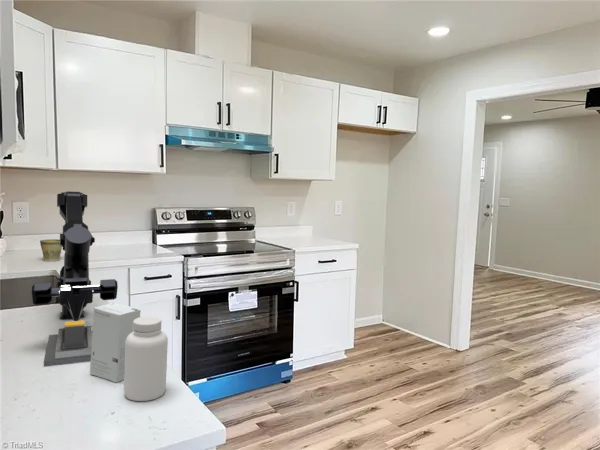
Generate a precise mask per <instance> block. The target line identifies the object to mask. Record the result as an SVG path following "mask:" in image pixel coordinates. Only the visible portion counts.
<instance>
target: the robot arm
mask: <svg viewBox="0 0 600 450" xmlns="http://www.w3.org/2000/svg"><path fill="white" fill-rule="evenodd" d="M56 207H57V208H59V215H60V217H61V218H62V219H63V220H64V225H62V233H59V239H60V247H62V251H64V258H63V259H64V261H63V266H62V267H61V269H60V271H59V277H57V278H56V287H54V288H53V287H52V282H49V281H48V282H36V283H34V284H33V285H32V286H31V298H32V304H33V305H35V306H40V305H41V306H42V305H49V304H50V303H51V302H52V301H53V298H54V297H56V298H57V304H59V305H61V311H60V315H59V320H68V319H73V320H72V321H80V318H81V319H82V318H85V310H84V309H85V308H86V307H87V305H88V304H91V303H92V302H94V301H93V298H94V295H95V294H99V298H100V299H101V300H103V301H110V300H111V301H112V300H115V299H116V300H117V297H118V280H116V279H115V278H113V279H111V278H110V279H100V282H99V284H96V285H95V284H93V285H92V281H91V280H90V273H89V272H90V271H89V270H90V269H89V268H90V264H89V262H90V260H89V258H90V257H89V253H90V249H91V247H92V246H93V243H95V241H96V238H95V237H94V236H93V235H92V232H91V231H90V230H89V225H87V224H86V223H84V222H83V221H84V220H83V216H84V214H85V210H86V208H88V194H85V193H84V192H81V191H71V190H70V191H64V192H63V191H62V192H61V193H56Z"/></svg>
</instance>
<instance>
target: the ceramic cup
mask: <svg viewBox="0 0 600 450" xmlns="http://www.w3.org/2000/svg"><path fill="white" fill-rule="evenodd" d="M39 242H40V247H41V251H42V252H41V253H42V258H43V260H44V262H47V263H48V262H58V261H59V262H60V259H61V255H62V254H61V253H62V250H63V247H60V238H59V239H58V238H57V239H55V238H52V239H51V238H48V239H40V240H39Z"/></svg>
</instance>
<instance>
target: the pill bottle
mask: <svg viewBox="0 0 600 450" xmlns="http://www.w3.org/2000/svg"><path fill="white" fill-rule="evenodd" d="M133 331H134V332H132V333H130V334H129V335H128V337H127V338H126V343H125V372H124V379H123V392H124V396H125V398H127V399H128V400H130V401H135V402H146V401H151V400H152V401H153V400H155V399H158V398H160V397H162V396H163V395H164V394H165V392H166V389H167V388H166V387H167V368H168V367H167V366H168V365H167V363H168V346H169V345H168V343H169V341H168V336H167V334H166V332H165V331H163V330H162V319H161V318H160V317H158V316H152V315H150V316H149V315H148V316H147V315H146V316H140V317H139V318H136V319H135V320H134V321H133Z"/></svg>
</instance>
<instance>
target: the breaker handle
mask: <svg viewBox="0 0 600 450" xmlns="http://www.w3.org/2000/svg"><path fill="white" fill-rule="evenodd" d="M84 327H85V320H84V319H83V320H80V319H79V321H74V320H70V321H65V322H64V328H65V342H64V343H63V345H62V350H68V349H78V348H86V340H85V341H84Z"/></svg>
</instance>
